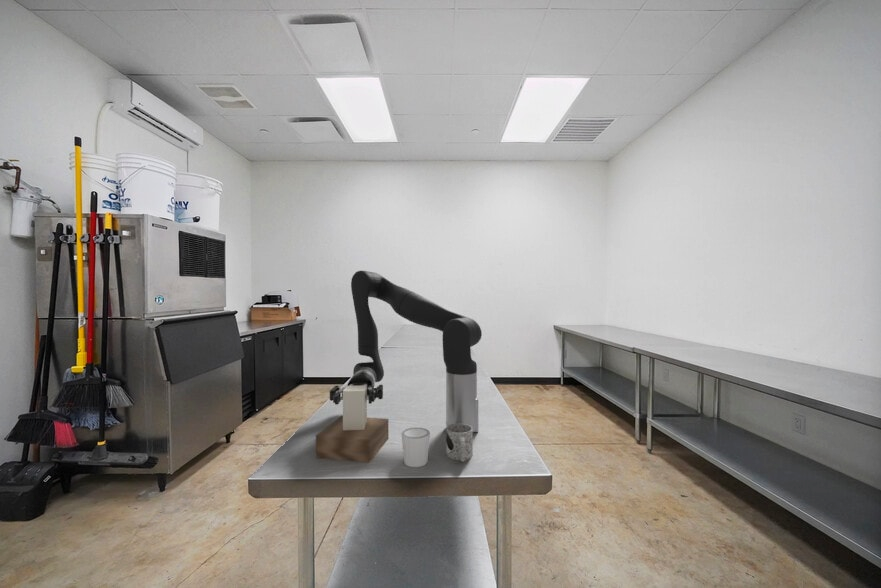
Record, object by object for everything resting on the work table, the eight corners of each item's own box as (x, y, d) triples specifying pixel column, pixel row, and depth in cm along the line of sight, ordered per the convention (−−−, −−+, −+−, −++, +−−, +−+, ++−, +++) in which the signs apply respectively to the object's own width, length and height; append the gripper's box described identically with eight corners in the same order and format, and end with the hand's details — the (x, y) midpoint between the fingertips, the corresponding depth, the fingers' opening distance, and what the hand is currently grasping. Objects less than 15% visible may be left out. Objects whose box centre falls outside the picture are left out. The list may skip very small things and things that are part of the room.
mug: (445, 449, 90) (445, 423, 90) (470, 448, 90) (470, 422, 90) (448, 468, 80) (448, 439, 80) (477, 467, 80) (477, 438, 80)
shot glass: (395, 461, 83) (395, 432, 83) (416, 452, 88) (416, 424, 88) (415, 471, 78) (415, 440, 78) (435, 461, 83) (435, 432, 83)
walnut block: (388, 440, 96) (388, 418, 96) (369, 464, 82) (369, 439, 82) (341, 436, 99) (341, 415, 99) (315, 459, 85) (315, 435, 85)
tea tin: (366, 422, 94) (366, 385, 94) (364, 429, 88) (364, 390, 88) (346, 422, 93) (346, 385, 93) (342, 430, 88) (342, 391, 88)
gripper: (338, 372, 104) (325, 386, 88) (385, 371, 106) (381, 385, 89) (338, 397, 104) (324, 415, 88) (385, 395, 105) (381, 414, 89)
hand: (353, 400), depth 89 cm, fingers open, 8 cm apart
